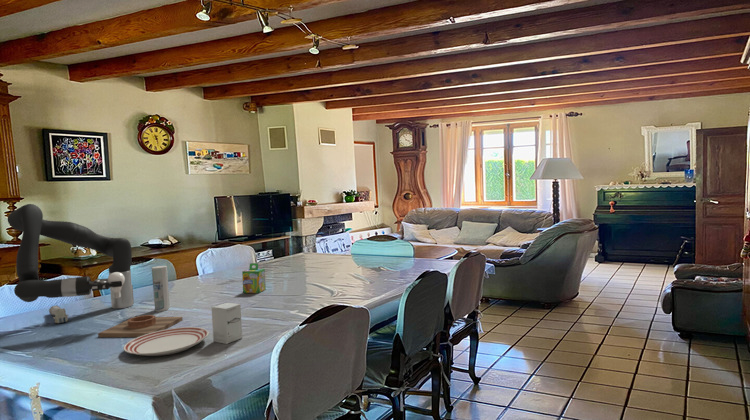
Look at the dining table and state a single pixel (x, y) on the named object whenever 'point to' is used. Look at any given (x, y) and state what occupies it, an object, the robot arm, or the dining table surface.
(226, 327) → the supplement box
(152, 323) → the holder board
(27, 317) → the dining table surface
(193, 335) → the dinner plate
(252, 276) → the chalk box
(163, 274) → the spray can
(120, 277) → the lightbulb
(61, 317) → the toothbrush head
